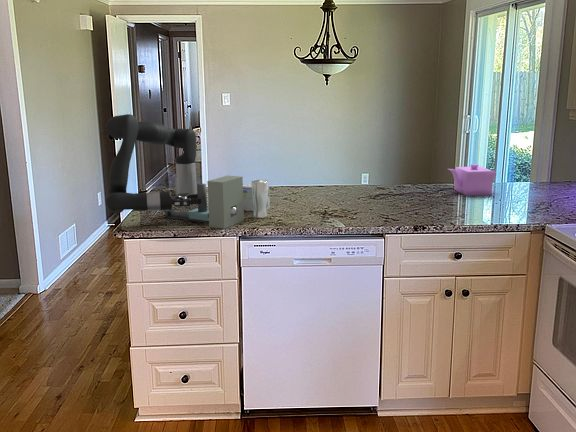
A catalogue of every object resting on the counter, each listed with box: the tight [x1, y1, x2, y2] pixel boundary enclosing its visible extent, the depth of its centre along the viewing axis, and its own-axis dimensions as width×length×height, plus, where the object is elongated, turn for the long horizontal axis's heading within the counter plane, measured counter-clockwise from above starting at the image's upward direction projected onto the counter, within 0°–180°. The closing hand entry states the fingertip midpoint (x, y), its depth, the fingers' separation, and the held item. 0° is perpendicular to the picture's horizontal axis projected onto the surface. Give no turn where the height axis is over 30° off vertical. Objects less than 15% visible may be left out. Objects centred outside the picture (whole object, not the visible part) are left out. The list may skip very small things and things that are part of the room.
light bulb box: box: [243, 183, 271, 212], centre depth 243 cm, size 11×7×11 cm, turn 71°
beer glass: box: [251, 179, 269, 219], centre depth 230 cm, size 7×7×15 cm
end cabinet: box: [206, 174, 245, 230], centre depth 219 cm, size 8×14×18 cm, turn 152°
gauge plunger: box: [231, 207, 237, 214], centre depth 220 cm, size 10×4×4 cm, turn 62°
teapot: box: [447, 163, 497, 197], centre depth 275 cm, size 15×25×14 cm, turn 95°
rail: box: [164, 207, 209, 224], centre depth 228 cm, size 25×5×3 cm, turn 62°
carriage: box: [187, 183, 209, 221], centre depth 224 cm, size 11×7×14 cm, turn 62°
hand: (200, 198), depth 224 cm, fingers open, 8 cm apart
